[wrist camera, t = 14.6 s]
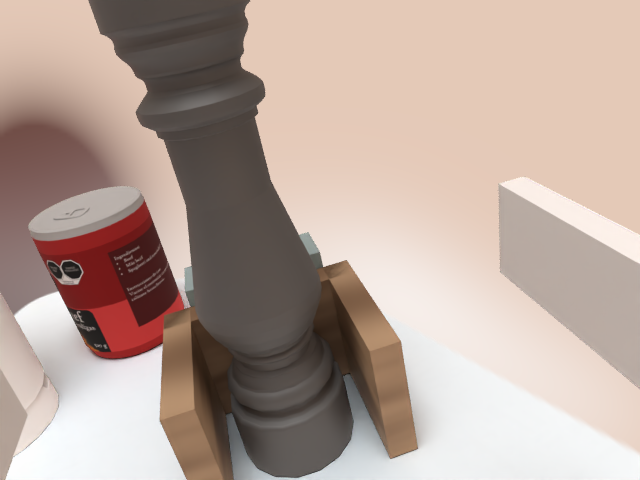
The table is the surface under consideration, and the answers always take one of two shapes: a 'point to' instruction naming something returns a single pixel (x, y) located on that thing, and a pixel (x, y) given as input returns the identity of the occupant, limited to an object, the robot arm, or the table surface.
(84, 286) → the canned food
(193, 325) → the cradle
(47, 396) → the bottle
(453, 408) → the table surface
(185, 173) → the candle holder
